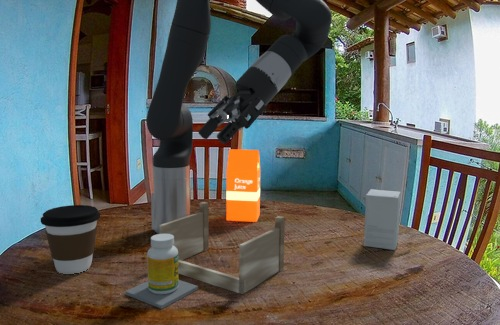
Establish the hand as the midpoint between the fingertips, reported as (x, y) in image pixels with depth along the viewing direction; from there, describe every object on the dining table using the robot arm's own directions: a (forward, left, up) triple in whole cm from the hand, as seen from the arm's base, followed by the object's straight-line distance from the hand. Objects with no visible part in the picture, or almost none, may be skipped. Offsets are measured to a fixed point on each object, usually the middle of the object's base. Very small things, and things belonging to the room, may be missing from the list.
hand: (210, 138), depth 81 cm
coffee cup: (-23, -15, -27) cm, 39 cm away
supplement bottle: (-1, -12, -26) cm, 29 cm away
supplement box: (+23, +37, -27) cm, 51 cm away
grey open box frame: (+1, +3, -27) cm, 27 cm away
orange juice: (-17, +36, -27) cm, 48 cm away
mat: (-1, -12, -27) cm, 29 cm away
